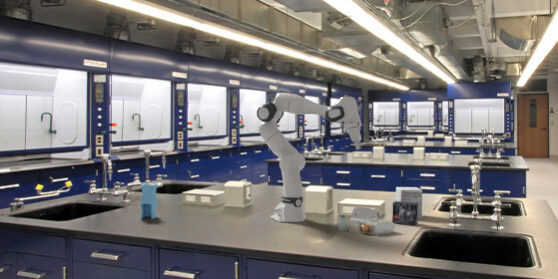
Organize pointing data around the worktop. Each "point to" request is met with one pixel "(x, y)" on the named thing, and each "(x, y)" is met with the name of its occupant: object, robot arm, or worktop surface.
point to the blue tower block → (148, 201)
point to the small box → (405, 213)
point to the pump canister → (342, 223)
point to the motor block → (376, 226)
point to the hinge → (363, 214)
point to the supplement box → (410, 197)
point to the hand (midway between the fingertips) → (358, 149)
